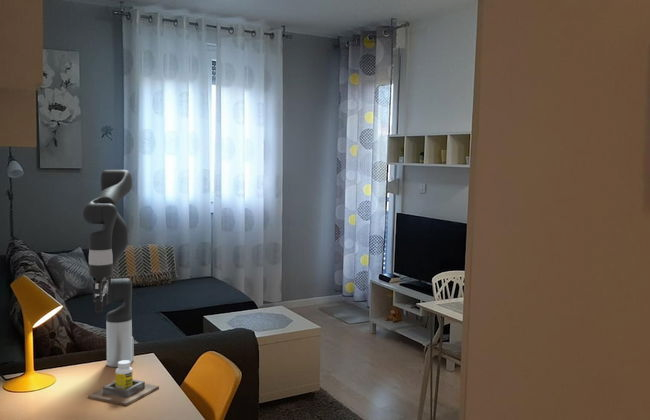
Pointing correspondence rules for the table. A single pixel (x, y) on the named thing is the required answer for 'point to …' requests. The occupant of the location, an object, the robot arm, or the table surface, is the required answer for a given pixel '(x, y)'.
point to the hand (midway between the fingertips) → (101, 309)
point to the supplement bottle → (123, 375)
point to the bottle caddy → (123, 393)
